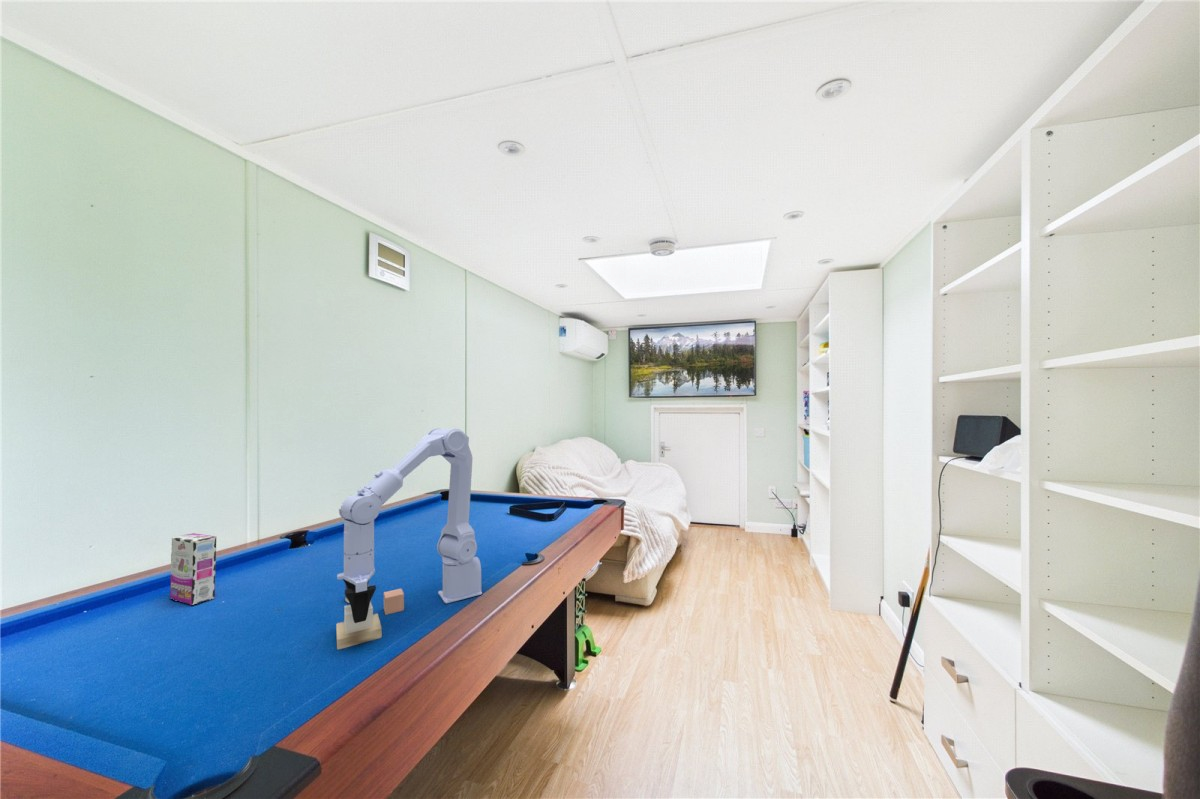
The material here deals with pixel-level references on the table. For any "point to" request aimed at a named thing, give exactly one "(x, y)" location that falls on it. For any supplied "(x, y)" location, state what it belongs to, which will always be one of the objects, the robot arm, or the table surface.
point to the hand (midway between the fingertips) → (358, 614)
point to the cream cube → (354, 627)
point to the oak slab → (358, 634)
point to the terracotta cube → (393, 601)
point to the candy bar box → (193, 568)
